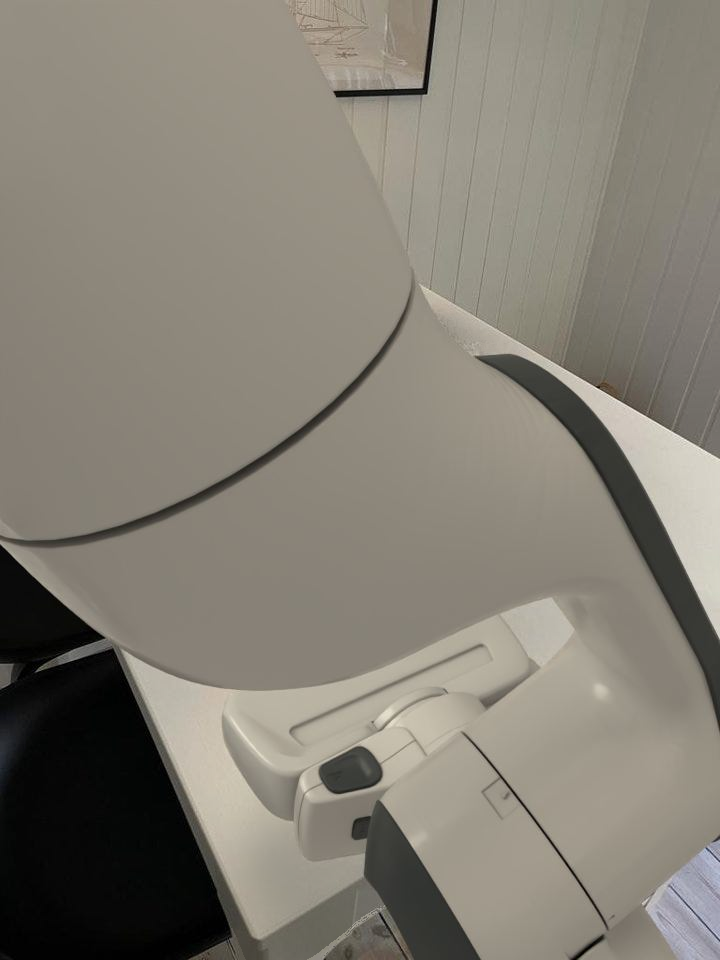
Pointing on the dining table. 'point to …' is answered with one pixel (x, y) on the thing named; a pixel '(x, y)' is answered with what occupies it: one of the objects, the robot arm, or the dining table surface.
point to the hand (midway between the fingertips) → (325, 610)
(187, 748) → the dining table surface
